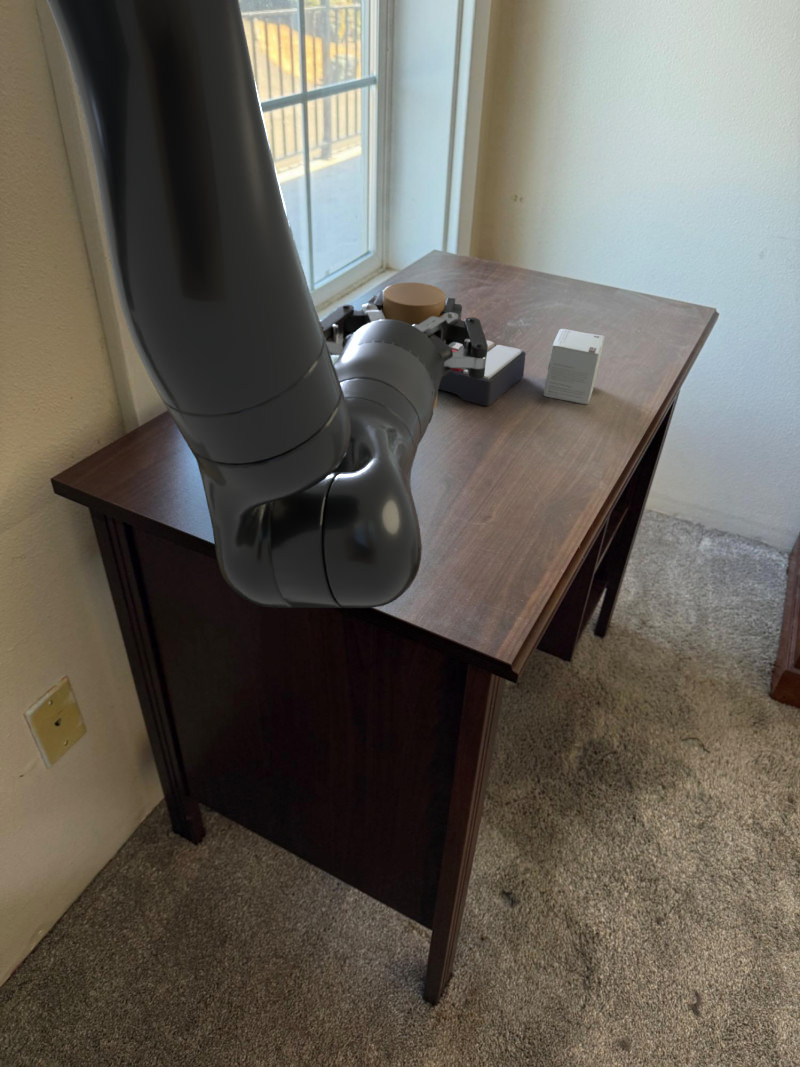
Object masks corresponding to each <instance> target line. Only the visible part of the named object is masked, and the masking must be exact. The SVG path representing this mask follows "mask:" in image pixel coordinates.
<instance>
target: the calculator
mask: <svg viewBox="0 0 800 1067" xmlns="http://www.w3.org/2000/svg"><path fill="white" fill-rule="evenodd" d="M486 342H487V345H488V349H487V358H486V366H485V374H484V377H483V378H472V377H470V376H469V374H468V370H463V369H462V368H451V370H450V372H449V373H448V374H447V375H445V376H443V377H442V378H441V382H440V385H439V389H438V390H441V391H445V392H449V393H452V394H456V395H458V397H460V399H462V400H463V401H467V402H470V403H473V404H477V405H481V406H484V407H489V406H491V405H492V404H493V403H494V402H495V401H496V400H497V399H499V398H501V396H502V395H503V394H505V393H506V392H507V391H508V390H509V389H510V388H512V387H513V386H514V385H515V384H516V383H517V382H518V381H520V380H521V379H522V378H523V377H524V375H525V374H524V373H525V363H526V354H527V353H526V352H525V351H523V350H522V349H521V348H520V349H519V348H516V347H511V346H506V345H503V344H495V342H494V341H492V340H487V339H486ZM461 346H462V344H460V343H456V344H455V345H454V346H453V347H451V349H452V352H455V351H458V350H459V347H461Z"/></svg>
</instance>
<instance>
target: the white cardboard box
mask: <svg viewBox="0 0 800 1067" xmlns="http://www.w3.org/2000/svg"><path fill="white" fill-rule="evenodd" d="M604 342H605V335H600V334H594V333H590V332H589V333H588V332H582V331H577V330H572V329H567V328H559V330H558V333H557V334H556V337H555V338H554V341H553V342H552V343H553V344H552V346H551V352H550V357H549V362H548V368H547V374H546V378H545V384H544V389H543V396H544V397H546V398H549V399H556V400H560V401H566V402H571V403H577V404H583V405H589V403H590V401H591V398H592V396H593V395H592V394H593V392H594V387H595V384H596V379H597V374H598V370H599V367H600V366H599V365H600V360H601V356H602V351H603V347H604Z"/></svg>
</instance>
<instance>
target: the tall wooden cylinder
mask: <svg viewBox="0 0 800 1067" xmlns="http://www.w3.org/2000/svg"><path fill="white" fill-rule="evenodd" d="M382 291H383V305H382V312H383V314H384V316H385V318H386V320H397V321H402V322H405V323H408V324H410V325H414V324H417V325H418V324H420V323H421V322H423V321H425V320H426V319H428V318H429V317H431V316H435V317H440V316H441V315H442V312H443V309H444V308H445V303H446V299H447V298H446V293H445V292H444V291H443V289H441V288H439V287H437V286H436V285H435V286H434V285H432V284H428V283H422V282H399V283H393V284H390V285H388V286H386V287H385V288H384V289H383V290H382ZM438 393H439V391H438V392H437V396H436V399H435V403H434V407H433V410H435V408H436V407H437V404H438Z"/></svg>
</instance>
